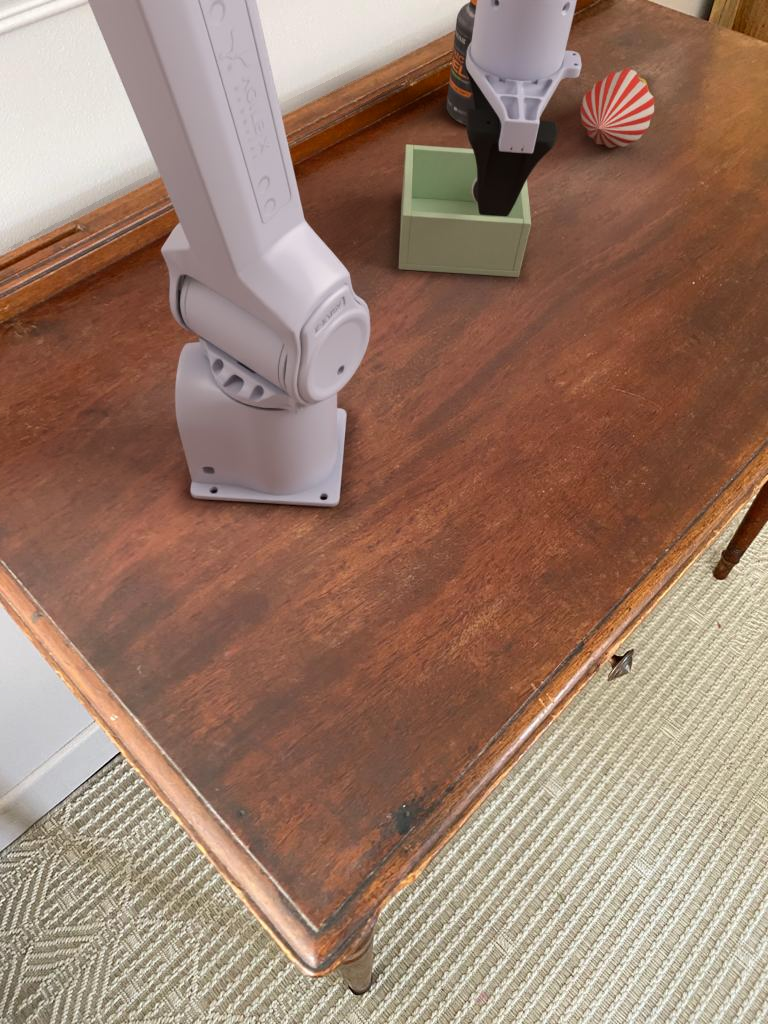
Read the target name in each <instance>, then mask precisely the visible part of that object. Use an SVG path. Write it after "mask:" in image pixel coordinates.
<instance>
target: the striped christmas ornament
mask: <svg viewBox="0 0 768 1024" xmlns="http://www.w3.org/2000/svg"><path fill="white" fill-rule="evenodd" d="M581 102H582V103H581V105H580V116H581V120H580V121H581V124H582V126H583V127H584V128H585V129H586V130H587V136H588V137H589V138H590V139H593V140H594V143H596V144H597V145H604V146H605V147H606V148H609V149H612V148H615V147H619V148H624V147H627V146H629V145H630V144H631V143H634V142H636V141H638V140H639V139H641V137H642V136H643V135H644V133H646V131H647V130H648V129H649V127H650V123H651V119H652V116H653V115H654V113H655V97H654V95H652V93H651V92H650V90H649V86H648V83H647V80H646V79H645V78H642V77H639V75H638V73H637V71H635V70H634V69H630V68H624V69H622V70H620V71H618V72H610V73H608V75H607V76H606V77H605V78H603V79H602V80H598V81H596V82H595V83H594V85H593V87H592V88H591V89H590V90H589V91H587V92H586V93H585V94H584V95H583V98H582V101H581Z"/></svg>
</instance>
